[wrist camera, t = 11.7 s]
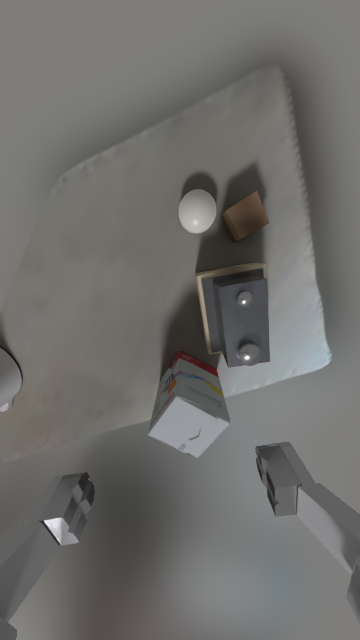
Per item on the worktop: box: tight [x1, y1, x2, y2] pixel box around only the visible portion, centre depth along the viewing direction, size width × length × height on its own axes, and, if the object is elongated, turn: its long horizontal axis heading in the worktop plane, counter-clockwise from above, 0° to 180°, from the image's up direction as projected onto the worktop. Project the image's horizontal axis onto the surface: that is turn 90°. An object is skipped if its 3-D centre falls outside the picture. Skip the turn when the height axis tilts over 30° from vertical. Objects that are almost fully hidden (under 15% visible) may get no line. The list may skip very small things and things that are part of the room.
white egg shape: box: [179, 189, 216, 234], centre depth 25 cm, size 5×5×2 cm
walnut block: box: [221, 191, 269, 242], centre depth 25 cm, size 4×4×4 cm
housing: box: [212, 274, 270, 367], centre depth 23 cm, size 10×5×6 cm, turn 11°
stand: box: [195, 262, 266, 355], centre depth 28 cm, size 9×12×5 cm
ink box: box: [148, 351, 230, 458], centre depth 30 cm, size 9×9×12 cm
